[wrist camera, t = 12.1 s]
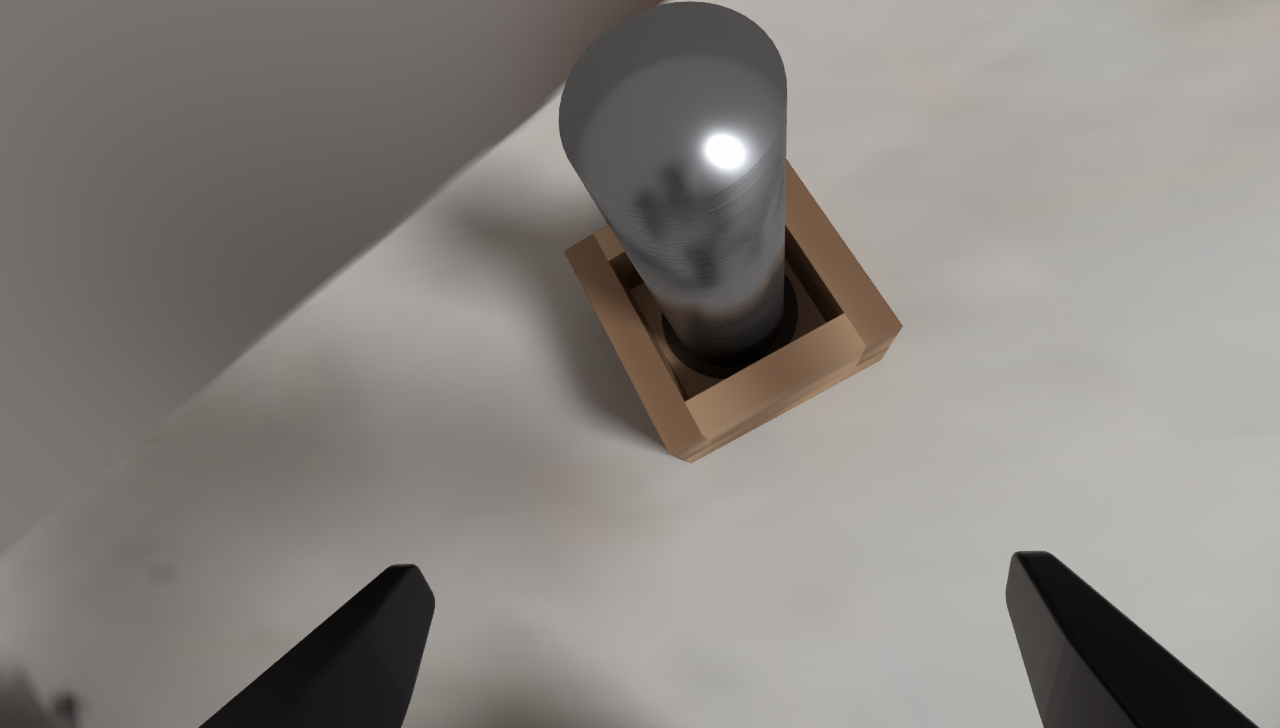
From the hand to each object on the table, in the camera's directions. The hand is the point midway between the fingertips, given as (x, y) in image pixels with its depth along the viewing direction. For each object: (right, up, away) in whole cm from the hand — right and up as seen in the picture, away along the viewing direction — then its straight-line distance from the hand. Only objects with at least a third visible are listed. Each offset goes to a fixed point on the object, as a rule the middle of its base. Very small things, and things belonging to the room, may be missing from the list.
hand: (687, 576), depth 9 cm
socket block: (+3, +5, +15) cm, 16 cm away
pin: (+3, +5, +13) cm, 14 cm away
